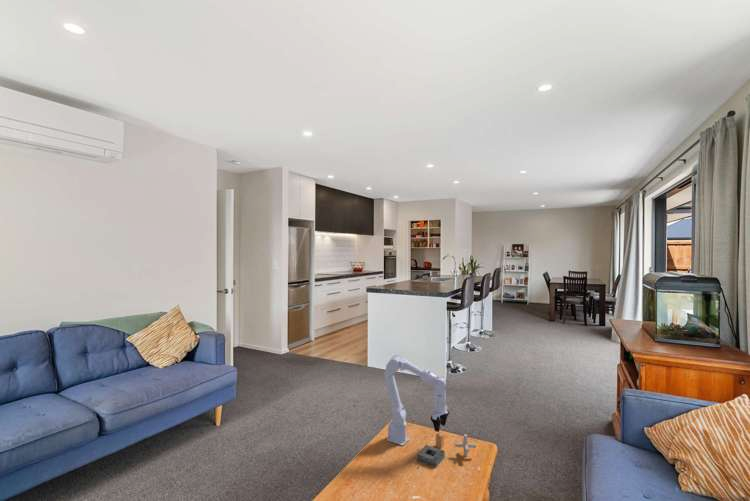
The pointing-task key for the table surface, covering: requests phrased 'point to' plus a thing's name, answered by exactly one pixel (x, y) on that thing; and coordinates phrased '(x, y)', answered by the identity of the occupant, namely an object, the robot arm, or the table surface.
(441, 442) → the tan wooden block
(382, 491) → the table surface
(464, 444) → the pipe connector
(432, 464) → the grey square frame
